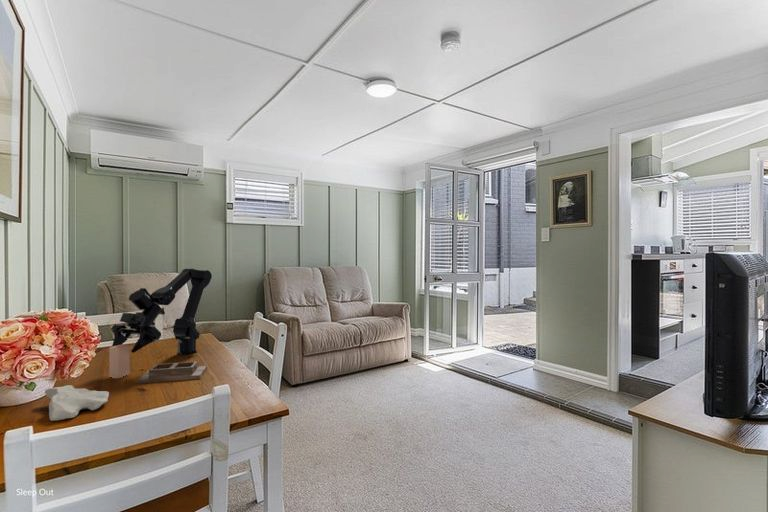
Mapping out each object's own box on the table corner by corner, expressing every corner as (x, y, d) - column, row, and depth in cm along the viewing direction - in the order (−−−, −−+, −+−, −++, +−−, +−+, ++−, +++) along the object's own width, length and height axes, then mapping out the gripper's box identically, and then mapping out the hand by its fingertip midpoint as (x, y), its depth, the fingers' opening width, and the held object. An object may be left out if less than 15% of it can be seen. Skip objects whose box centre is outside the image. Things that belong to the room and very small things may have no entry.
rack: (149, 372, 140) (149, 363, 140) (206, 368, 145) (206, 359, 145) (136, 383, 129) (136, 372, 129) (200, 378, 134) (200, 368, 134)
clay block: (120, 373, 139) (120, 344, 139) (129, 374, 138) (129, 345, 138) (109, 377, 135) (109, 347, 135) (118, 378, 134) (118, 348, 134)
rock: (105, 391, 122) (43, 398, 113) (107, 377, 122) (45, 383, 113) (110, 418, 106) (39, 429, 96) (112, 402, 106) (41, 411, 96)
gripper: (115, 303, 145) (86, 337, 134) (155, 305, 141) (129, 340, 130) (133, 320, 153) (107, 354, 142) (171, 322, 148) (147, 357, 138)
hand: (122, 351), depth 138 cm, fingers open, 9 cm apart
